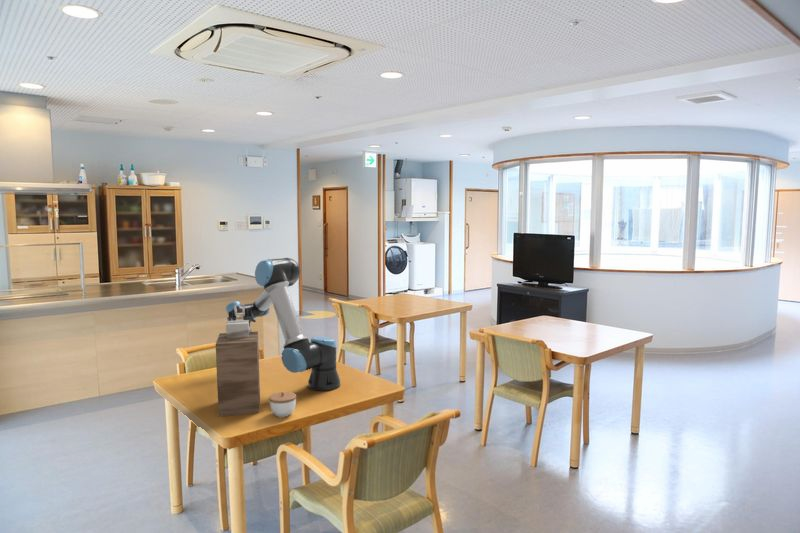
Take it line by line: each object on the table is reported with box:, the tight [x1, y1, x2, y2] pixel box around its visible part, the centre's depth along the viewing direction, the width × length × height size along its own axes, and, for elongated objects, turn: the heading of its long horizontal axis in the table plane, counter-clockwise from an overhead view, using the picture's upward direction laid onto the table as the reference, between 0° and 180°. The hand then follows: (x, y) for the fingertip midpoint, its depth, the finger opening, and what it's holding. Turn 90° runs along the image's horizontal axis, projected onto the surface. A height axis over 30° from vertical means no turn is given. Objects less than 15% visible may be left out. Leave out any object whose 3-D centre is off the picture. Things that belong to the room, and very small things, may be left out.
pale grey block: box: [225, 313, 249, 338], centre depth 241 cm, size 28×9×6 cm, turn 13°
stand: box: [215, 330, 261, 417], centre depth 230 cm, size 19×16×30 cm
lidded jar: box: [268, 391, 297, 418], centre depth 222 cm, size 11×11×9 cm
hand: (239, 308), depth 245 cm, fingers closed on pale grey block, 3 cm apart
